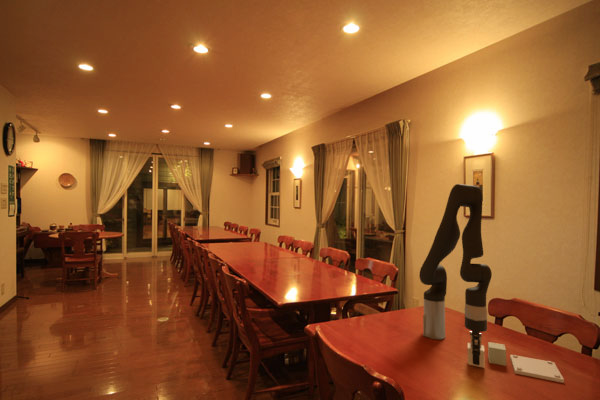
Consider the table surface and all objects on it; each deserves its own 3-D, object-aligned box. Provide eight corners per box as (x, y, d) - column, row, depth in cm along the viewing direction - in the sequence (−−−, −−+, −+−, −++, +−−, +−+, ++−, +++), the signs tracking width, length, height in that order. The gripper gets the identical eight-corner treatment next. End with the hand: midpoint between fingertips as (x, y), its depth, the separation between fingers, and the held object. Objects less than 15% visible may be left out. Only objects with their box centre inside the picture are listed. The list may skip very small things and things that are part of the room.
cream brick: (467, 364, 120) (467, 348, 121) (467, 358, 125) (467, 342, 125) (484, 367, 118) (484, 351, 118) (484, 361, 123) (484, 345, 123)
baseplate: (515, 373, 116) (515, 368, 116) (510, 357, 128) (510, 353, 128) (564, 383, 109) (563, 378, 109) (554, 365, 122) (553, 361, 122)
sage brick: (489, 362, 124) (489, 347, 124) (488, 356, 129) (488, 341, 129) (506, 366, 121) (506, 350, 122) (504, 359, 126) (504, 344, 127)
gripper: (464, 309, 130) (465, 351, 130) (464, 320, 117) (464, 366, 117) (486, 312, 126) (486, 355, 126) (488, 324, 114) (488, 371, 113)
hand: (475, 360), depth 122 cm, fingers closed on cream brick, 5 cm apart
